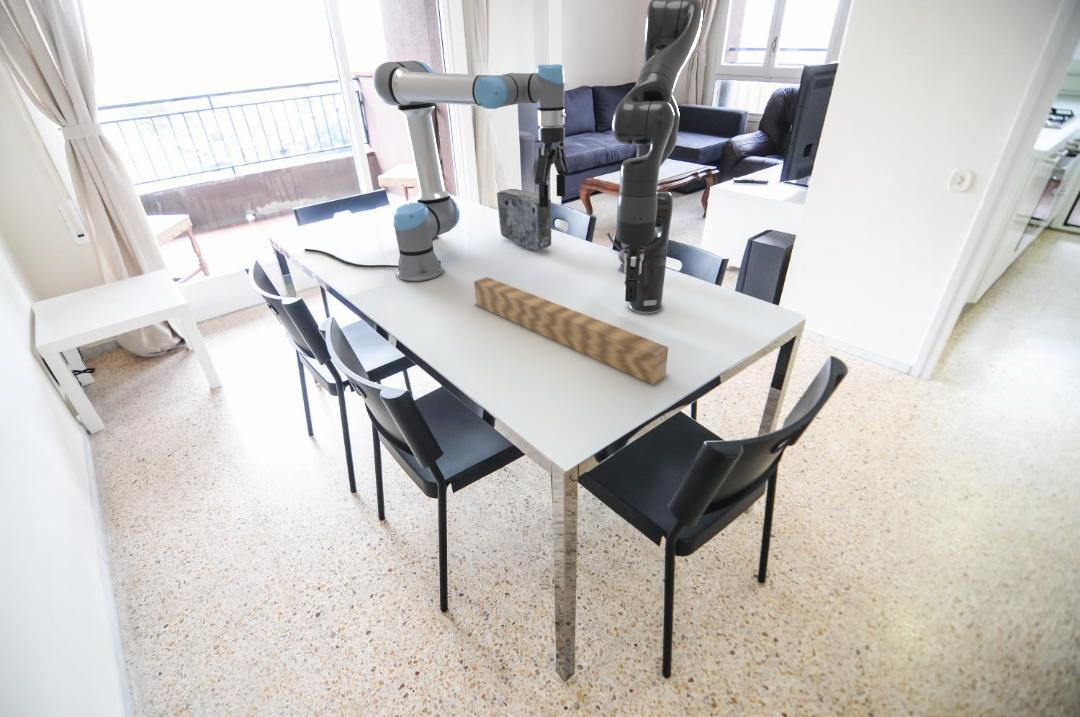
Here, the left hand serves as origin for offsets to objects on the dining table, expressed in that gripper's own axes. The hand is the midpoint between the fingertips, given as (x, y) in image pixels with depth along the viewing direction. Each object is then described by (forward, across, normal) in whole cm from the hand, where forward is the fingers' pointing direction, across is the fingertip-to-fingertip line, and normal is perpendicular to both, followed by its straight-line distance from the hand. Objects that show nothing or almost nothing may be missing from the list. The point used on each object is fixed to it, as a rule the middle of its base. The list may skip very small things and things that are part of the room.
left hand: (552, 201), depth 154 cm
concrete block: (+26, +27, +23) cm, 44 cm away
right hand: (+4, -49, -38) cm, 62 cm away
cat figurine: (+26, +17, -22) cm, 38 cm away
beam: (+26, -36, -16) cm, 47 cm away
